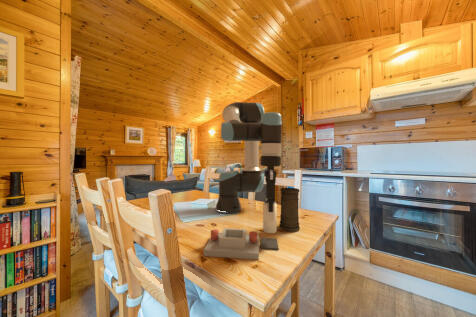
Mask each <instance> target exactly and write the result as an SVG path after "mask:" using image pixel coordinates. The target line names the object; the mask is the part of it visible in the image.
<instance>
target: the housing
mask: <svg viewBox="0 0 476 317" xmlns="http://www.w3.org/2000/svg"><path fill="white" fill-rule="evenodd" d="M247 230H248V229H247V228H233V227H232V228H227V227H226V228H225V227H224V228H223V229H222V230H221V231H222V232H219V235H218V240H211V237H209V240H208V242H207V244H206V245H205V247H204V249H203V256H205V257H212V258H213V257H215V258H216V257H217V258H228V259H231V258H233V259H243V260H259V259H260V254H259V252H260V244H259V243H260V240H259V239H260V237H259V234H257V242H255V243H252V242H250V241H249V233H248V232H247ZM247 233H248V234H247Z"/></svg>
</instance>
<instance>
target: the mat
mask: <svg viewBox="0 0 476 317" xmlns="http://www.w3.org/2000/svg"><path fill="white" fill-rule="evenodd" d="M260 240H261V241H260V243H261V244H260V245H261V250H272V251H274V250H275V251H279V250H280V249H279V244H278V239H277V237H276V238H275V237H274V238H273V237H261V238H260Z"/></svg>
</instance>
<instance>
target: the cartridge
mask: <svg viewBox="0 0 476 317" xmlns="http://www.w3.org/2000/svg"><path fill="white" fill-rule="evenodd" d="M265 201H267V200H266V199H265ZM265 201H264V202H263V203H262V205H263V206H262V209H263V211H262V214H263V215H262V231H263V232H264V233H268V234H274V233H277V229H278V228H277V226H278V223H277V222H278V220H277V218H278V203H276V201H275V202H274V221H267V220H266V218H267V203H265Z"/></svg>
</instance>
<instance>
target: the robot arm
mask: <svg viewBox="0 0 476 317" xmlns="http://www.w3.org/2000/svg"><path fill="white" fill-rule="evenodd" d="M222 118H223V120H224V122H221V124H220V125H221V127H220V137H221V141H227V142H244V167H243V169H241V172H239V170H226V171H222V172H220V173H219V177H218V199H217V202H216V205H215V210H216V209H217V210H220V211H226V212H228V213H227V214H235V213H239V212H241V211H242V205H241V201H240V199H239V193H260V192H262V190H263V189H264V184H266V185H265V186H266V188H265V189H266V190H265V200H264V202H265V203H267V218H266V220H267V221H274V202H276V182H277V180H276V177H277V171H276V170H275V167H280V166H281V165H282V157H281V156H280V155H281V154H282V125H283V122H282V121H283V120H282V114H280V112H275V111H272V112H271V111H270V112H269V111H268V112H265V108H264V106H263V104H262V103H260V102H242V101H241V102H239V101H236V102H232V103H229V104H228V105H227V106H225V107H224V108H223V110H222ZM259 143H260V144H259ZM259 151H260V152H259ZM259 153H260V154H261V156H260V154H259ZM259 158H260V162H259ZM260 166H262V167H266V170H264V173H263V172H262V169H261V168H260ZM266 200H267V201H266Z"/></svg>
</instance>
